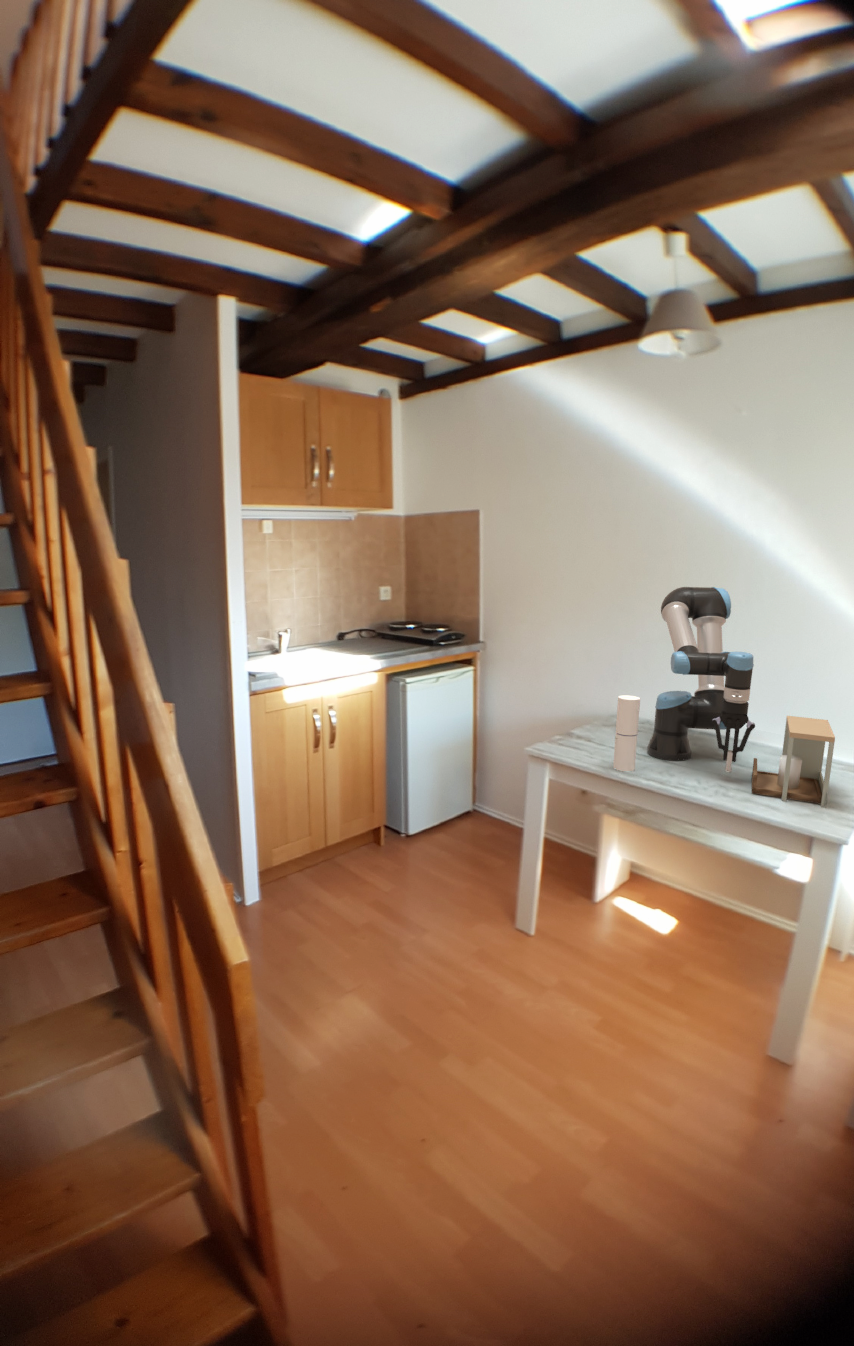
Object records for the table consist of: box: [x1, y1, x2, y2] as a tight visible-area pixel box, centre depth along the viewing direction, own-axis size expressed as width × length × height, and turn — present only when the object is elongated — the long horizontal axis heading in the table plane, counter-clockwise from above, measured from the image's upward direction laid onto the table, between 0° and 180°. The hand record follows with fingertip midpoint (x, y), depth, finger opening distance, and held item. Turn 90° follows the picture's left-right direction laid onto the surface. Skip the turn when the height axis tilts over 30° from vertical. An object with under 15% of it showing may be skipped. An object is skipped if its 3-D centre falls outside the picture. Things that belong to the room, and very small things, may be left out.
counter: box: [781, 715, 836, 809], centre depth 210 cm, size 12×22×22 cm, turn 154°
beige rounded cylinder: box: [777, 754, 802, 789], centre depth 211 cm, size 6×6×9 cm
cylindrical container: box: [612, 694, 641, 772], centre depth 229 cm, size 7×7×25 cm
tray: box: [751, 757, 822, 805], centre depth 213 cm, size 19×19×6 cm
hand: (728, 770), depth 220 cm, fingers closed
